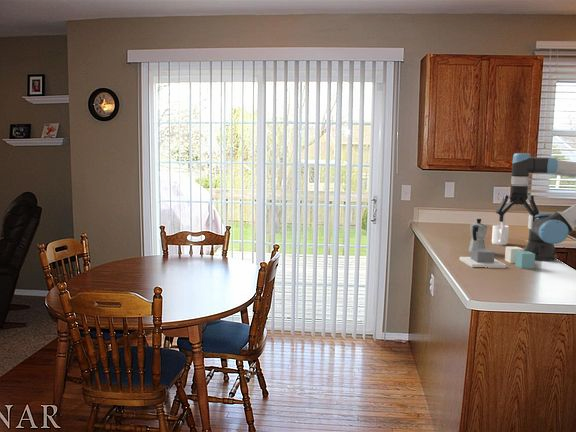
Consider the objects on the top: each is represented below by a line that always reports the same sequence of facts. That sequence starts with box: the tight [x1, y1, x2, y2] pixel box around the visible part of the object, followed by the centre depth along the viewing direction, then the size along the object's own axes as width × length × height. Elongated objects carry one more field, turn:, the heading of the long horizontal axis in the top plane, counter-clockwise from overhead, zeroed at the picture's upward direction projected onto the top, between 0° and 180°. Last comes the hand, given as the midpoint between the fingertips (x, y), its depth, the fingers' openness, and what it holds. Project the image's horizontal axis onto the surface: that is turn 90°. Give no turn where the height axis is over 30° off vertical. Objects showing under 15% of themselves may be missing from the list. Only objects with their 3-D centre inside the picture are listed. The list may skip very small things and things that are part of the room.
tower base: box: [459, 248, 507, 269], centre depth 236 cm, size 16×16×6 cm
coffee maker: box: [468, 218, 488, 253], centre depth 262 cm, size 15×9×18 cm, turn 144°
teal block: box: [514, 251, 536, 270], centre depth 231 cm, size 6×6×7 cm
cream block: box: [504, 246, 525, 264], centre depth 242 cm, size 6×6×7 cm
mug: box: [491, 224, 510, 246], centre depth 286 cm, size 9×12×11 cm
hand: (516, 228), depth 240 cm, fingers open, 13 cm apart
